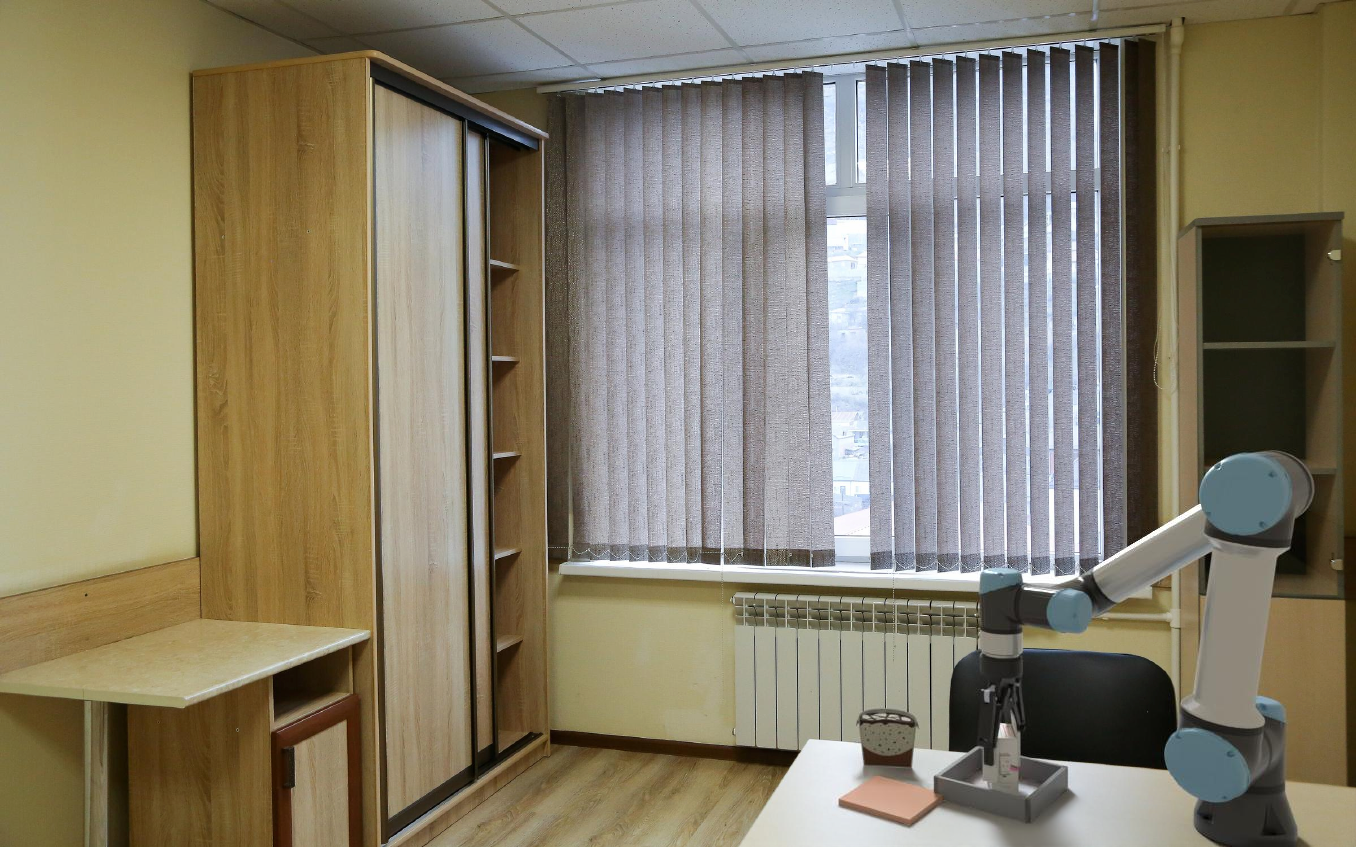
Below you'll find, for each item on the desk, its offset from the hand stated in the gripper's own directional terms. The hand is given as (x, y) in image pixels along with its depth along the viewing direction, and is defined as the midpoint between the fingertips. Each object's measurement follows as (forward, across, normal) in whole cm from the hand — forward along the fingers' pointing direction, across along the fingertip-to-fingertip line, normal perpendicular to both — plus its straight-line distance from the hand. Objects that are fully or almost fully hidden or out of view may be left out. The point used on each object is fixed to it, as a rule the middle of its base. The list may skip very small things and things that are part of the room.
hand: (1002, 772), depth 182 cm
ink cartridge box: (+4, 0, 0) cm, 4 cm away
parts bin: (+4, 0, 0) cm, 4 cm away
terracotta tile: (+4, +16, -14) cm, 22 cm away
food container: (+4, -1, -24) cm, 24 cm away
